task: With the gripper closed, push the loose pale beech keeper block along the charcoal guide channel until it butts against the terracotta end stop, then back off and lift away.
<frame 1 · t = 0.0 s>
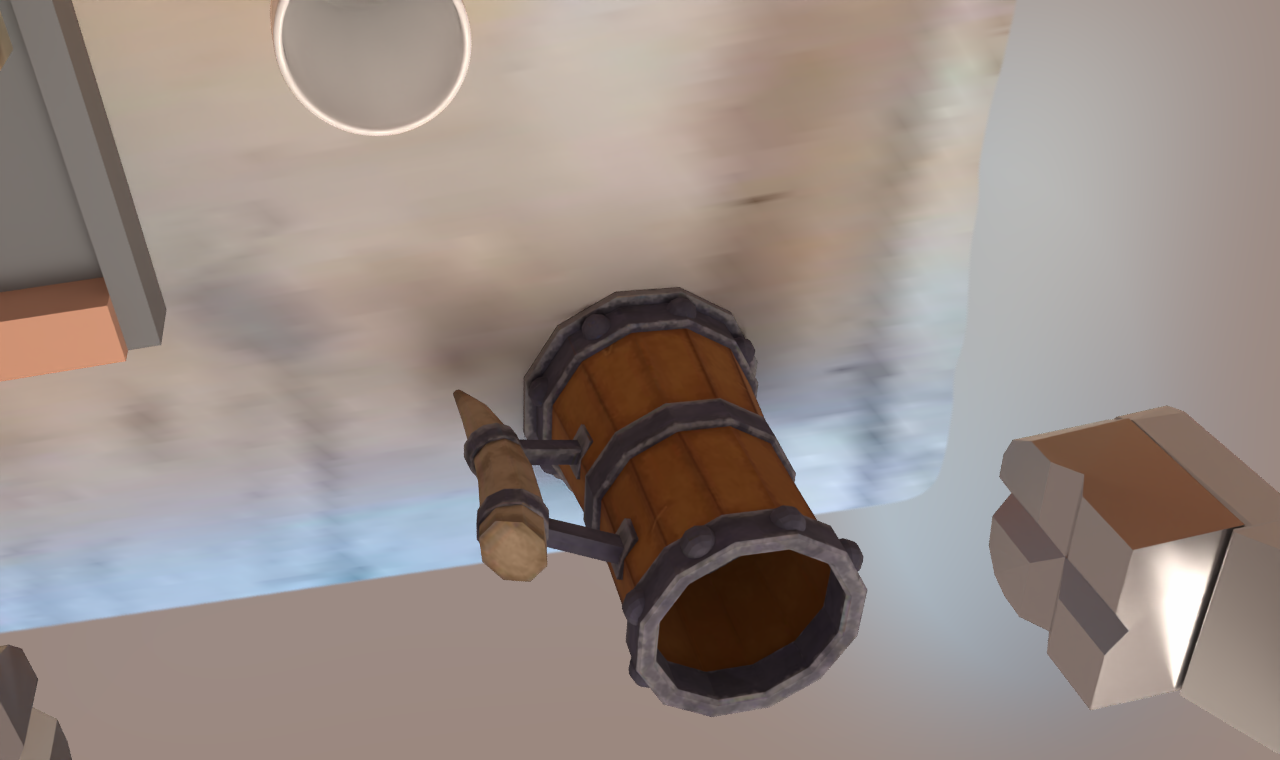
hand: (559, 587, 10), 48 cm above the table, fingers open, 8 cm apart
mug: (601, 386, 68), on the table
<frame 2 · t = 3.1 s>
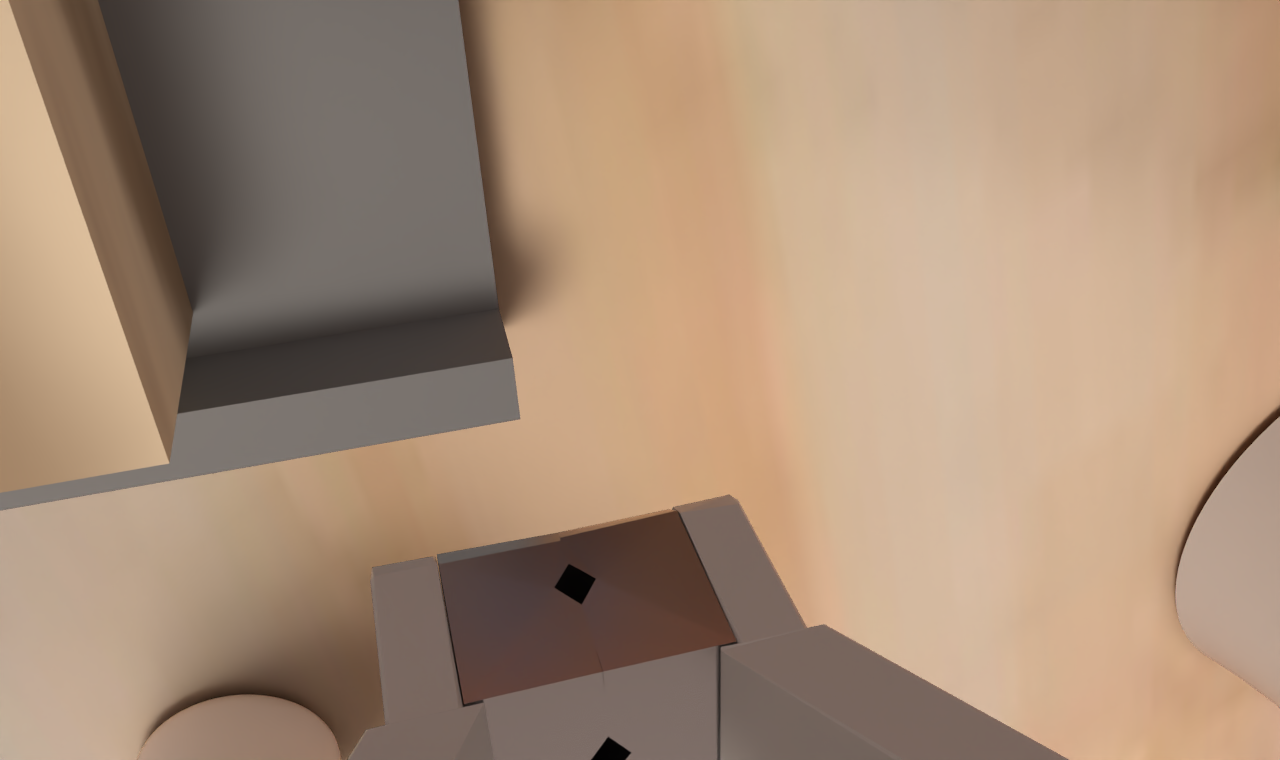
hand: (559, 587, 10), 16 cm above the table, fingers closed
white tumbler: (241, 745, 32), on the table
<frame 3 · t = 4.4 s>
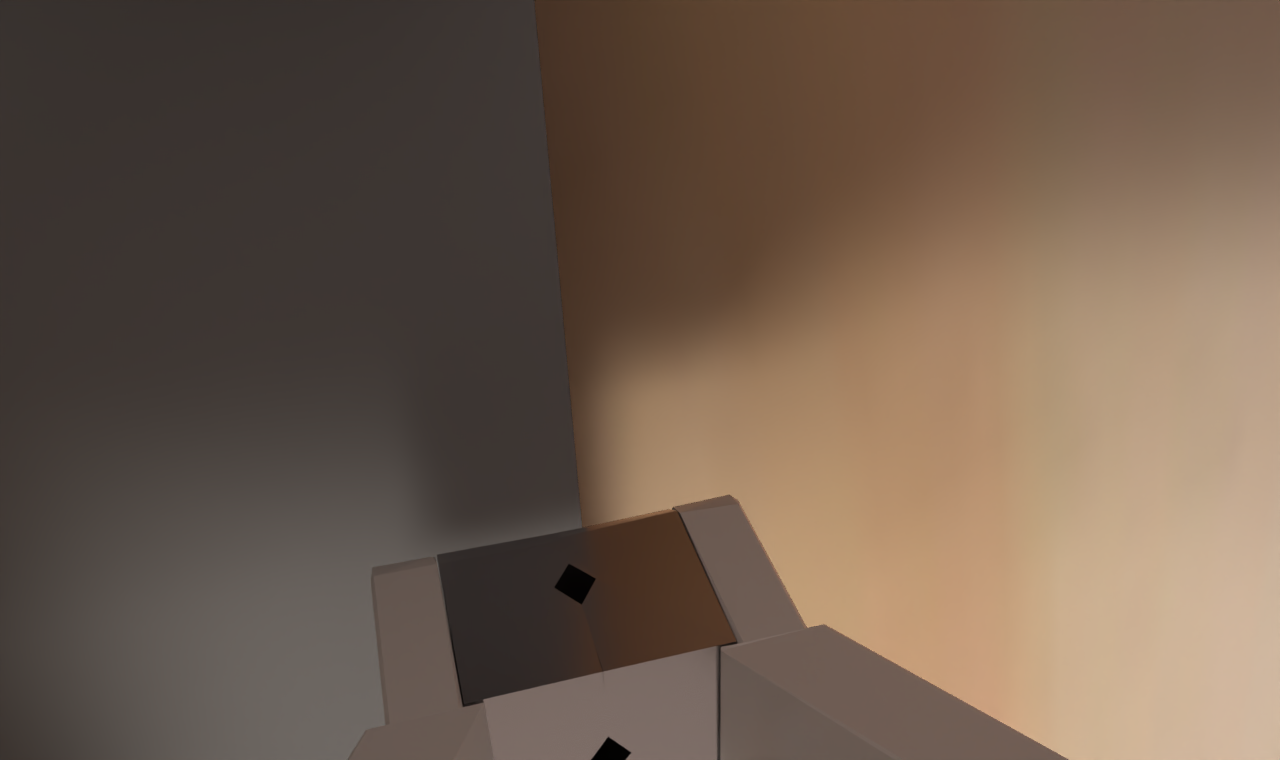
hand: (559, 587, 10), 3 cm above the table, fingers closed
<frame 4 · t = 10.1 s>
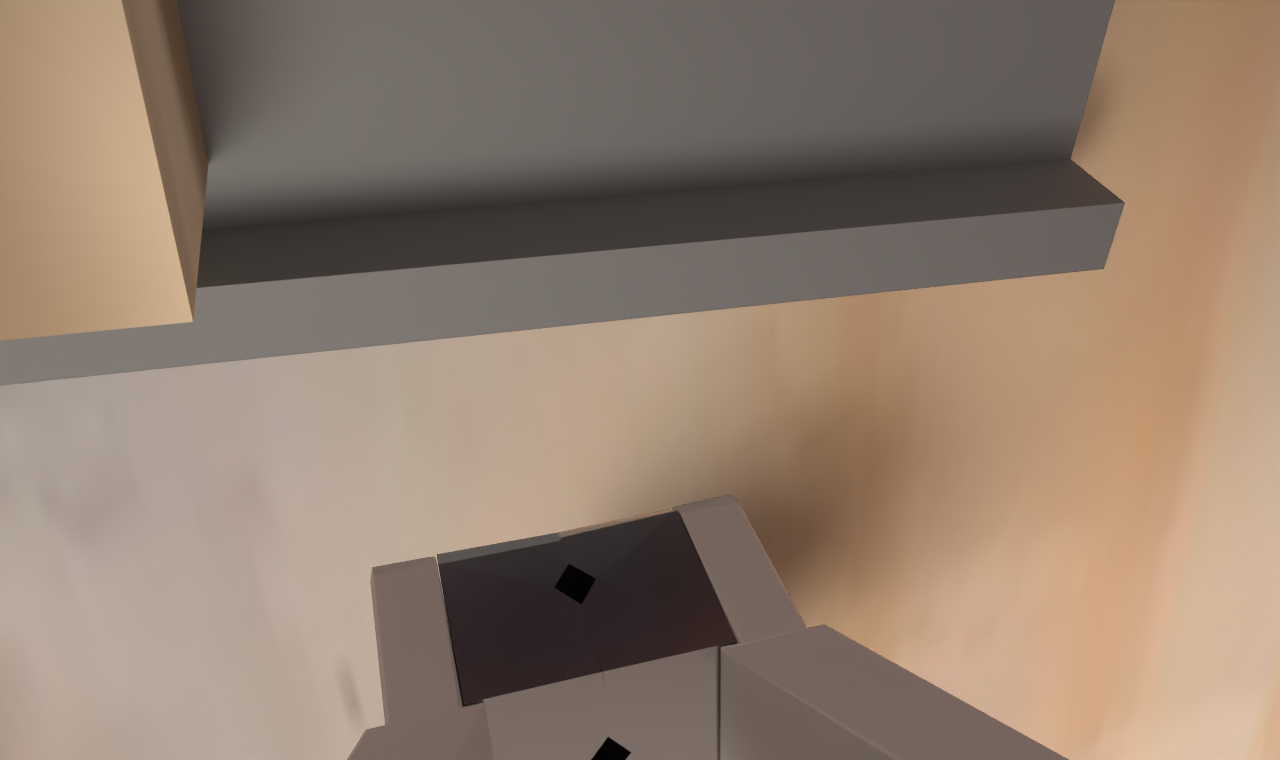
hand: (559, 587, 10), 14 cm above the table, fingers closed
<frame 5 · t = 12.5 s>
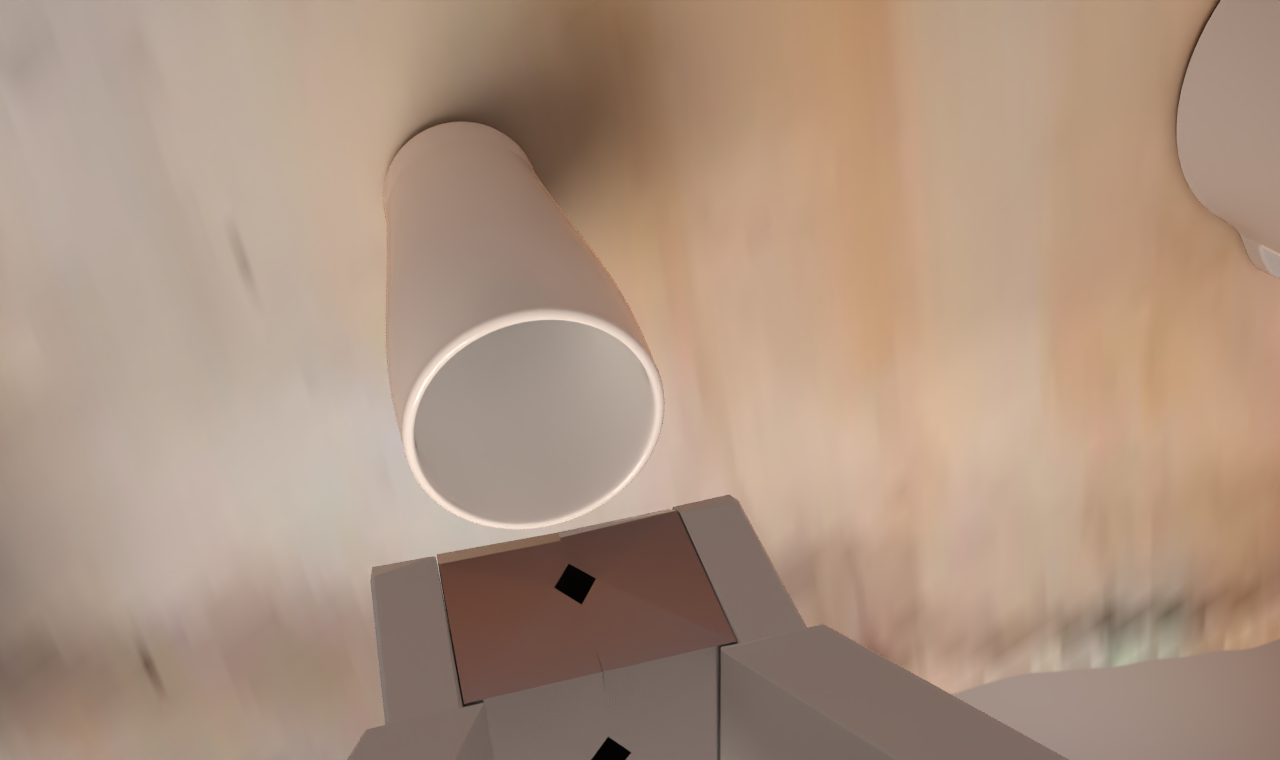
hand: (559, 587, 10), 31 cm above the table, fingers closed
white tumbler: (457, 185, 41), on the table
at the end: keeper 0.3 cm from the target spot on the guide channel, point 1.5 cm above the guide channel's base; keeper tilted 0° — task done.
